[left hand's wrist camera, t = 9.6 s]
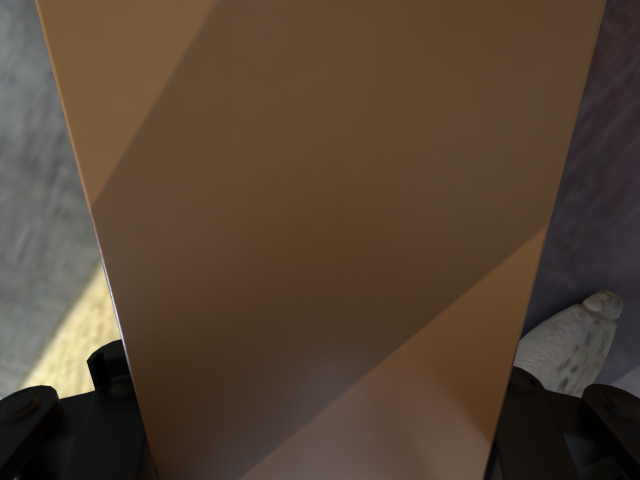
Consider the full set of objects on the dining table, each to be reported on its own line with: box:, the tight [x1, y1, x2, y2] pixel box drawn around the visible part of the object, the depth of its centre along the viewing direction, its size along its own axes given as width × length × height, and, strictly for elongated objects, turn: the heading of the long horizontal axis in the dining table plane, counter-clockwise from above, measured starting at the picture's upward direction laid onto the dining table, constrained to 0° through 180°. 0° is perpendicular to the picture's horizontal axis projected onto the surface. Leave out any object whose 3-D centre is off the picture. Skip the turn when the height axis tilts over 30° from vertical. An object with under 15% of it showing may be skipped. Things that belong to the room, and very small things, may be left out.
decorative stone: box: [513, 290, 623, 398], centre depth 27 cm, size 6×16×3 cm, turn 157°
